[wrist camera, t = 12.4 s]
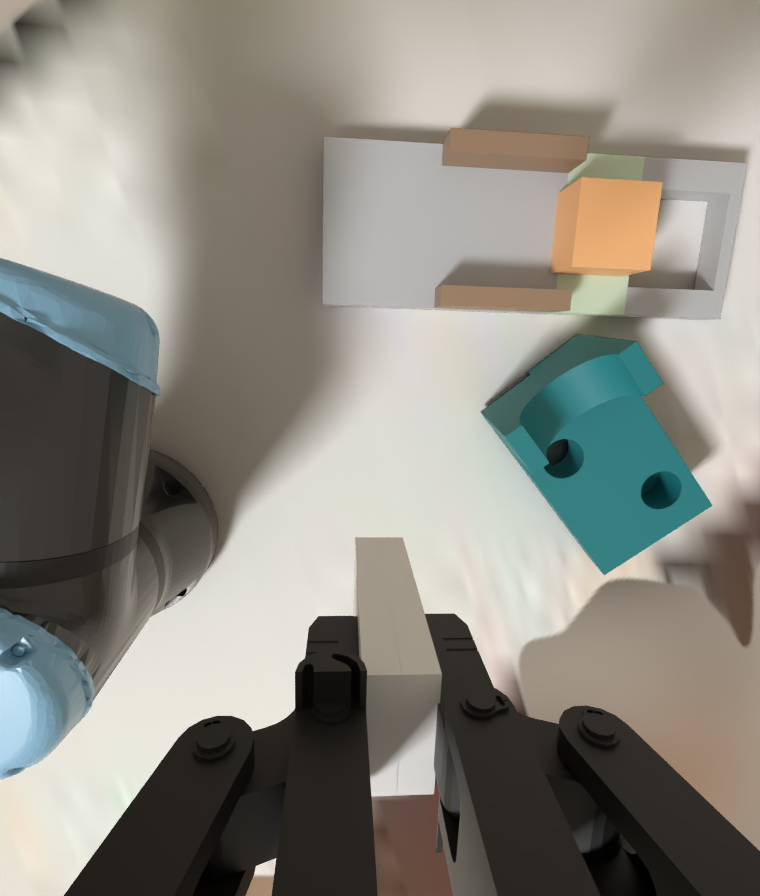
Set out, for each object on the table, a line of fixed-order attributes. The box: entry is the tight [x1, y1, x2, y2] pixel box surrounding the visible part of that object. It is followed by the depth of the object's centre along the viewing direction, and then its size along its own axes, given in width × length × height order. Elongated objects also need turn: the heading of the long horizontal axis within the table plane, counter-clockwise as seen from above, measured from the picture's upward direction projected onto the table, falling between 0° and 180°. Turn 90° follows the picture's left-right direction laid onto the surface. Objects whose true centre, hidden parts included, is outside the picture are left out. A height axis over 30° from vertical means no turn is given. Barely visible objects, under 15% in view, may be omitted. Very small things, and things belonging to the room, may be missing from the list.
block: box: [550, 177, 663, 277], centre depth 38 cm, size 6×6×4 cm
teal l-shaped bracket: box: [481, 334, 712, 575], centre depth 42 cm, size 18×11×10 cm, turn 38°
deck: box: [322, 128, 747, 320], centre depth 39 cm, size 34×12×6 cm, turn 88°
